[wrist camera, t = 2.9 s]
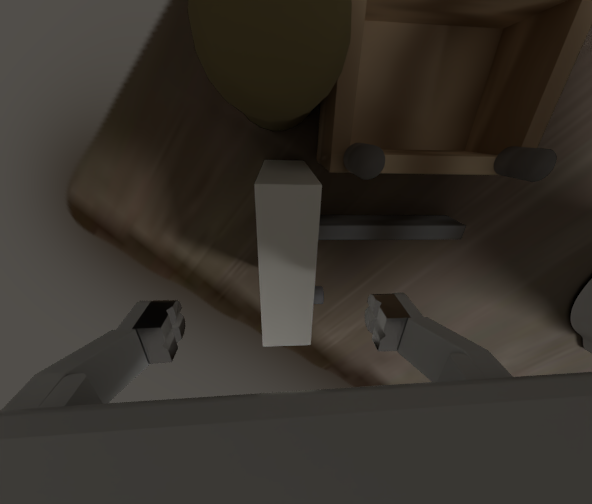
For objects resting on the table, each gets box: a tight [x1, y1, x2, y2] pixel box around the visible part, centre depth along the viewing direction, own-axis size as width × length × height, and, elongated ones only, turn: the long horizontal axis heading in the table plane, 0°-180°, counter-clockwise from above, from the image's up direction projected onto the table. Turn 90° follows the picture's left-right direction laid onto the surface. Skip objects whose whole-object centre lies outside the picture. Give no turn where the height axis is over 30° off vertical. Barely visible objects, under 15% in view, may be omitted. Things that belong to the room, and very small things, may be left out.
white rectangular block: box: [254, 160, 324, 346], centre depth 17 cm, size 10×4×9 cm, turn 179°
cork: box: [188, 0, 352, 131], centre depth 11 cm, size 6×6×11 cm
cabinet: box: [317, 0, 592, 240], centre depth 15 cm, size 12×15×8 cm
